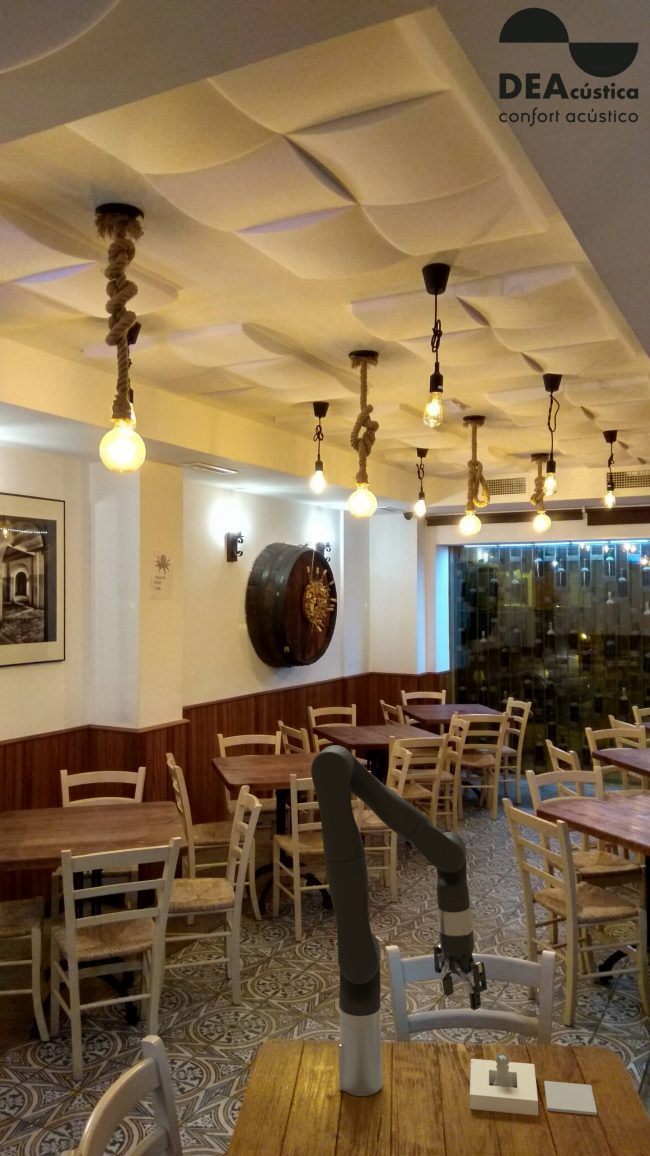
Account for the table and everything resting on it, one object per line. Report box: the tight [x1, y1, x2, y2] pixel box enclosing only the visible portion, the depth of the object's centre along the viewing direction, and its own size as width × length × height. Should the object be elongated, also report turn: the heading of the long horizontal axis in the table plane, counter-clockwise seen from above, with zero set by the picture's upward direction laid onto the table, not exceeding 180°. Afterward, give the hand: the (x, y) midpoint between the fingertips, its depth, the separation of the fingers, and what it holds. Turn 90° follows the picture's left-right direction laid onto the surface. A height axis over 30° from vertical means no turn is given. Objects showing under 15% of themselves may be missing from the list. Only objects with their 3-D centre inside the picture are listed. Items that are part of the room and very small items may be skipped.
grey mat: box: [543, 1080, 598, 1116], centre depth 176 cm, size 10×10×1 cm
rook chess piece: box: [492, 1052, 514, 1088], centre depth 179 cm, size 4×4×8 cm
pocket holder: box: [469, 1058, 539, 1116], centre depth 179 cm, size 14×14×3 cm
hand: (462, 1001), depth 180 cm, fingers open, 8 cm apart
